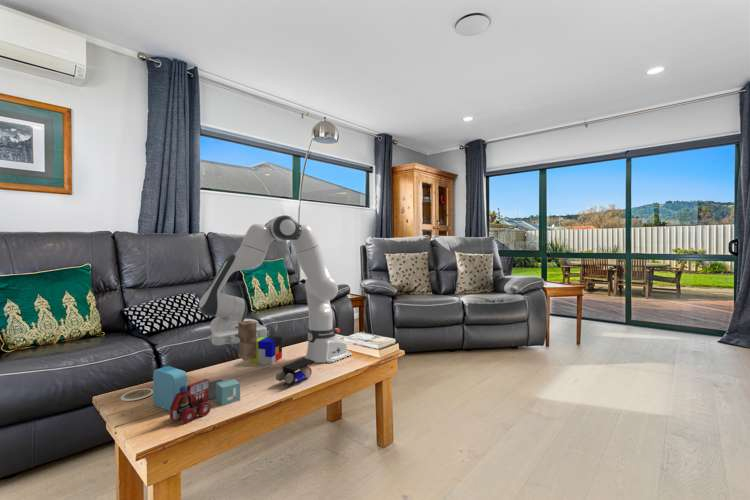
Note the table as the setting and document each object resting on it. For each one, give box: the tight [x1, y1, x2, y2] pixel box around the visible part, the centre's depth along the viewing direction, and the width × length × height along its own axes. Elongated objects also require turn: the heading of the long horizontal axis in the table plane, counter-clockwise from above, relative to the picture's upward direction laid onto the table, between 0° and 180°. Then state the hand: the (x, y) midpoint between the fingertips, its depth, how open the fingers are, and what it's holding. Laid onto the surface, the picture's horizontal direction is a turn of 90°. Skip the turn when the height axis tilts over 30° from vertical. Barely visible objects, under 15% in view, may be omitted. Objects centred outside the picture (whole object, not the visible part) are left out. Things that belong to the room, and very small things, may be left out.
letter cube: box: [215, 378, 241, 406], centre depth 126 cm, size 6×6×6 cm
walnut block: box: [237, 320, 257, 361], centre depth 136 cm, size 4×6×13 cm
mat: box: [209, 379, 224, 401], centre depth 135 cm, size 10×16×1 cm, turn 43°
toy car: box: [275, 357, 315, 388], centre depth 143 cm, size 7×8×15 cm
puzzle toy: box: [250, 335, 283, 365], centre depth 169 cm, size 10×10×10 cm
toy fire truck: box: [169, 378, 212, 424], centre depth 114 cm, size 7×12×10 cm, turn 148°
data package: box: [152, 365, 188, 412], centre depth 121 cm, size 12×4×12 cm, turn 59°
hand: (248, 339), depth 135 cm, fingers closed on walnut block, 4 cm apart
